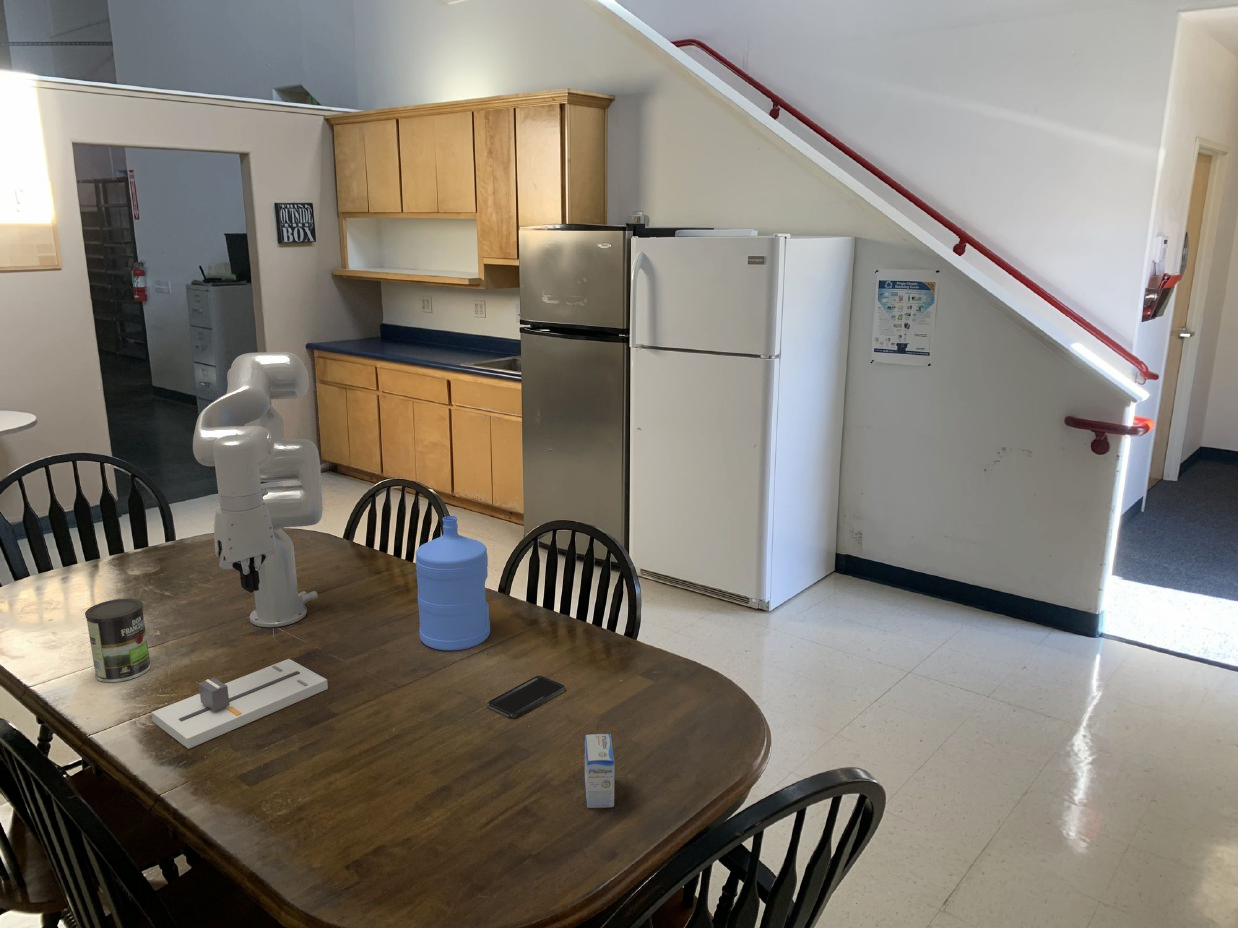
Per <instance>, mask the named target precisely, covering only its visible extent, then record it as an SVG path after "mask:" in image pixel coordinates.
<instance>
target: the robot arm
mask: <svg viewBox="0 0 1238 928" xmlns="http://www.w3.org/2000/svg"><path fill="white" fill-rule="evenodd" d="M309 377H310V376H309V373H308V369H307V367H306V366H305V364H304V363H303V361H302V359H301V358H300V357H299V355H297V354H295V353H292V352H290V351H271V352H269V351H268V352H266V351H265V352H263V351H261V352H247V353H243V354H240V355H238V356H237V357H236V358H235V359H234V360H233V362H232V363H231V366H230V368H229V369H228V370H227V375H226V380H227V389H226V393H225V394H223V395H222V396H220V397H219V398H216V399H215V400H214V401H212V402H211V403H210V404H208V405H207V406H206V407H205V408H204V409H203V410H202V411H201V412H200V414H199V415H198V417H197V419H196V424H195V427H194V428H195V429H194V432H193V433H194V434H193V438H192V453H193V456H194V458H195V460H196V461H197V462H198V463H199V464H201V465H202V466H205V467H215V476H216V485H217V492H218V500H219V502H218V503H219V508H218V509H216V510H215V515H214V524H213V526H214V527H213V532H214V533H213V539H214V551H215V552H214V553H215V556H216V557H217V558H219V564H218V565H219V568H220V569H222V570H232V569H234V570H236V571H238V572H239V579H240V585H241V588H242V589H243V590H245V591H247V592H248V593H251V594H252V593H254V601H255V609H253V611H251V613H250V614H249V622H250V623H251V624H253V625H254V626H257V627H261V628H277V627H279V628H280V627H284V626H288V625H291V624H294V623H296V622H299V621H301V620H302V619H303V618H304V617H306V615H307V613H308V611H307V610H308V609H307V607H306V606H305V605H306V604H307V602H310V601H314V600H316V599H318V592H317V591H315V590H313V591H311V592H306V591H305V590H303V591H301V592H298V591H299V590H298V578H297V570H296V568H297V567H296V558H295V547H294V546H295V545H294V543H293V541H292V539H291V538H290V536H289V535H288V534H287V533H286V531H284V530H283V529H285V528H297V527H298V528H299V527H309V526H314V525H317V524H318V523H320V521H321V519H322V516H323V494H322V493H323V492H322V475H321V473H322V471H321V463H320V462H321V460H320V455H319V453H320V452H319V450H318V447H317V445H316V444H315V443H314V441H312V440H310V439H308V438H307V439H306V438H295V439H294V438H293V439H286V438H285V421H284V419H283V416H282V415H281V414H280V413H279V412H278V410H277V409H276V408H274V406H273V405H271V403H270V402H271V400H272V401H273V400H292V399H301V398H304V397H305V396H306V394H307V393H308V391H309V388H310V379H309ZM285 481H286V482H287V481H288V482H289V481H297V482H300V484H299V485H285V486H284V485H283V486H282V485H281V486H280V485H279V486H277V485H276V486H264V487H262V485H261V482H262V483H263V482H264V483H267V482H285Z"/></svg>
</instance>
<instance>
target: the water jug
mask: <svg viewBox="0 0 1238 928" xmlns="http://www.w3.org/2000/svg"><path fill="white" fill-rule="evenodd" d="M457 520H458V517H457V516H454V515H447V516H444V517H442V522H443V525H442V529H443V534H442V535H441V536H439V537H436V538H434V539H432V540H429V541H427V542H426V543H423V544H421V545H420V546H418V548H417V549H416V550H415V551H416V552H415V569H416V578H417V579H416V581H417V604H418V615H419V630H418V631H419V639H420V640H421V642H422V643H423V644H424V645H425V646H427V647H428V648H432V649H434V650H438V651H439V650H440V651H460V650H461V651H462V650H466V649H471V648H473V647H476V646H478V645H480V644H482V643H483V642H485V640H487V639H488V637H490V633H491V622H490V609H489V608H490V606H489V603H488V602H487V600H486V581H487V579H488V576H489V575H488V566H489V562H488V561H489V559H488V557H489V556H488V552H487V549H488V548H487V546H486V545H485V544H484V543H483V542H482V541H480V540H477V539H473V538H471V537H467V536H464V535H460V534H459V533H458V528H459V527H458V521H457Z"/></svg>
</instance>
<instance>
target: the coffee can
mask: <svg viewBox="0 0 1238 928" xmlns="http://www.w3.org/2000/svg"><path fill="white" fill-rule="evenodd" d="M143 607H144V606H143V602H142V601H141V600H140V599H135V598H116V599H111V600H106V601H103V602H99V603H97V604H94V605H92V606H90V607H89V608H88V609H86V610H85V612H84V615H85V618H86V624H87V630H88V637H89V642H90V648H91V649H90V651H91V655H92V661H93V667H94V673H95V674H94V677H95V679H96V680H97V681H99V682H102V683H119V682H121V683H122V682H125V681H126V682H127V681H129V680H133V679H136V678H138V677H141V676H142V675H144V674H146V673H147V672H149V670H150V669H151V667H152V663H151V660H150V659H151V658H150V652H149V646H148V639H147V631H146V625H145V619H144V618H145V617H144V609H143Z"/></svg>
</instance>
